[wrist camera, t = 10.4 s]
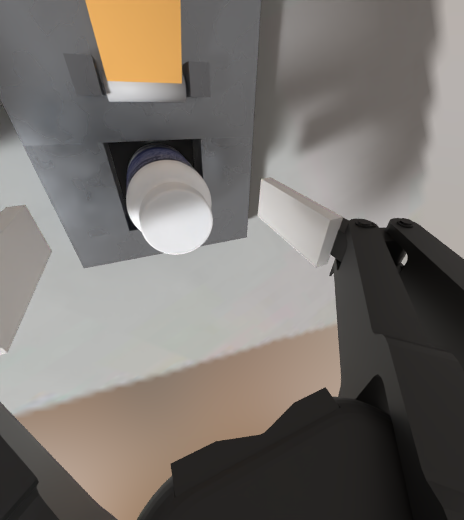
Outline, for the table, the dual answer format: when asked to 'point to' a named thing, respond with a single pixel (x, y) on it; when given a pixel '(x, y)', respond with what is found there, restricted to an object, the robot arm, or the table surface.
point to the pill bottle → (168, 199)
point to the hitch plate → (128, 116)
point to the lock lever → (139, 49)
